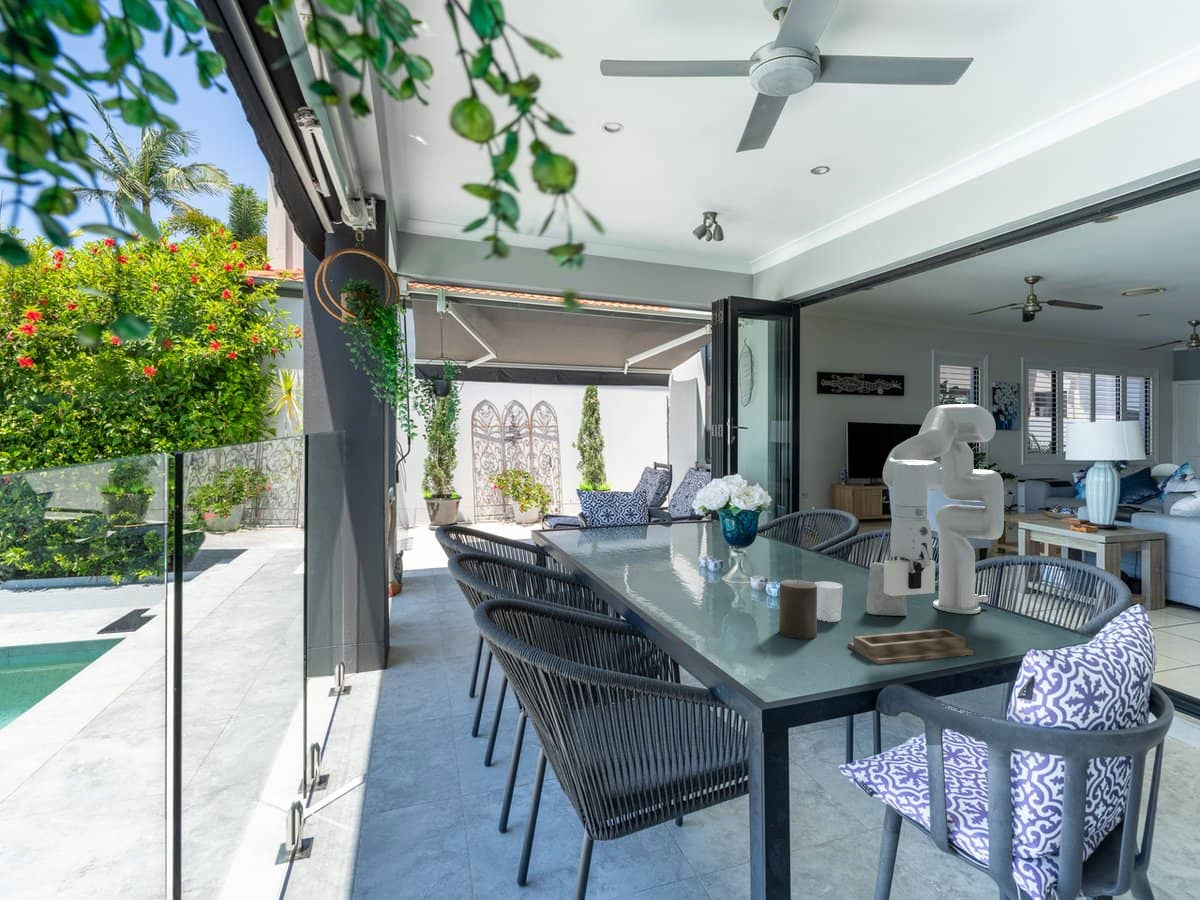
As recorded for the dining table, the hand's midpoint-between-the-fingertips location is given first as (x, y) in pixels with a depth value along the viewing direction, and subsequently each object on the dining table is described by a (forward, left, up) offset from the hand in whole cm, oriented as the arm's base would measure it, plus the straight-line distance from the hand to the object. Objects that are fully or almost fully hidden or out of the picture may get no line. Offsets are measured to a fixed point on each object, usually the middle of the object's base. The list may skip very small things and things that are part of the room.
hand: (909, 585), depth 154 cm
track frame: (0, 0, -16) cm, 16 cm away
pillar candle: (+20, -18, -17) cm, 32 cm away
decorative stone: (-14, -28, -17) cm, 35 cm away
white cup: (+5, -28, -17) cm, 33 cm away
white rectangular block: (0, 0, -2) cm, 2 cm away
